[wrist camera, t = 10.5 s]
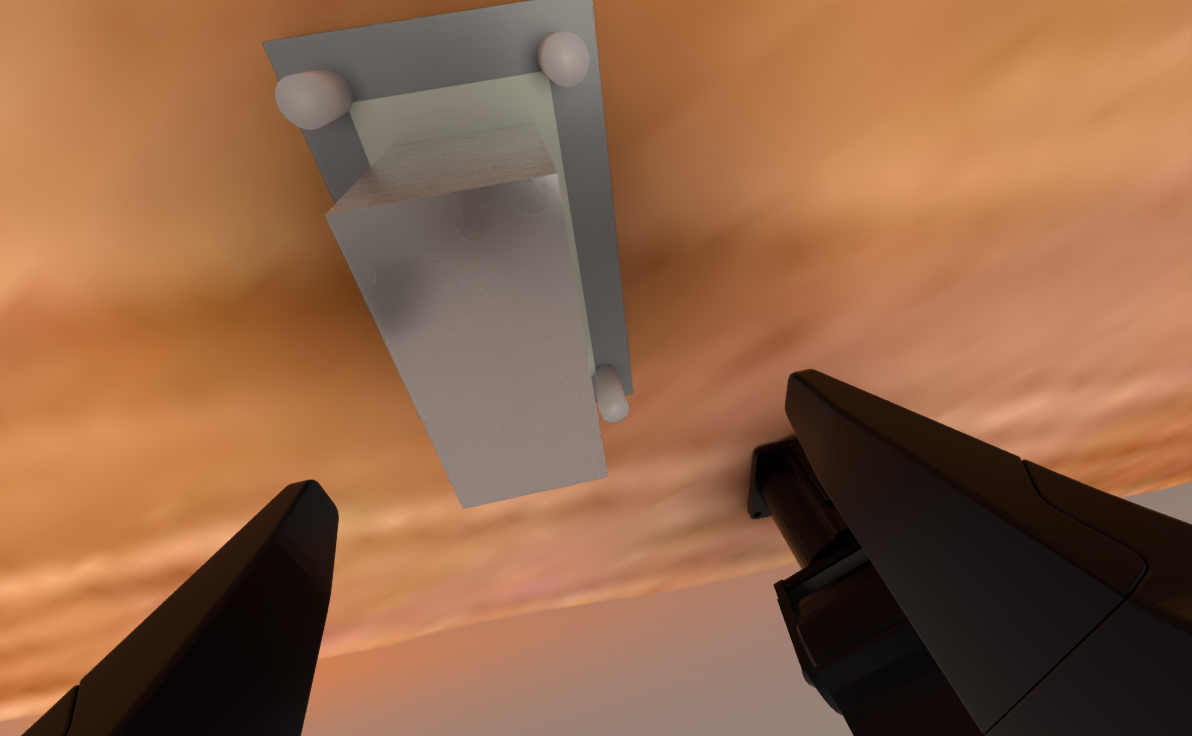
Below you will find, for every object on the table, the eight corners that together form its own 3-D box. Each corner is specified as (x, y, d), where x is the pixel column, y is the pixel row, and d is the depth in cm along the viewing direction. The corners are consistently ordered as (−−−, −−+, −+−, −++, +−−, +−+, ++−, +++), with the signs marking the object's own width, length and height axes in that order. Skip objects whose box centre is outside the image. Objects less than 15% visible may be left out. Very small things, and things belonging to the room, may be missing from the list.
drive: (577, 353, 20) (607, 477, 15) (470, 375, 20) (459, 509, 14) (534, 121, 15) (557, 173, 9) (388, 145, 15) (318, 216, 9)
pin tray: (626, 375, 23) (646, 429, 20) (442, 413, 23) (433, 475, 20) (583, -6, 15) (607, -17, 11) (281, 41, 14) (217, 43, 11)
